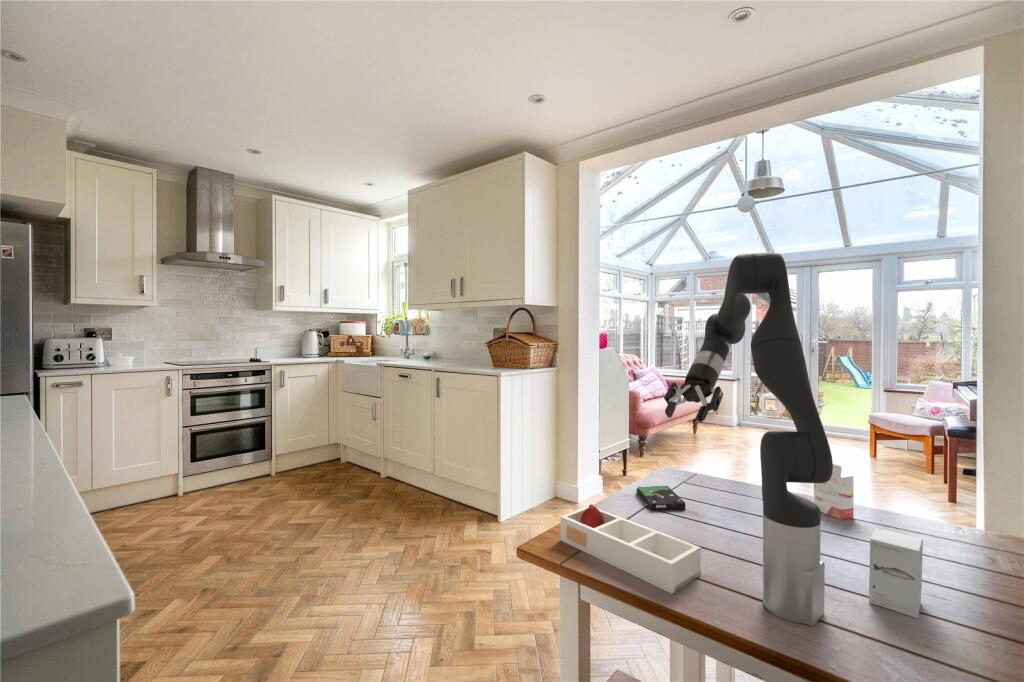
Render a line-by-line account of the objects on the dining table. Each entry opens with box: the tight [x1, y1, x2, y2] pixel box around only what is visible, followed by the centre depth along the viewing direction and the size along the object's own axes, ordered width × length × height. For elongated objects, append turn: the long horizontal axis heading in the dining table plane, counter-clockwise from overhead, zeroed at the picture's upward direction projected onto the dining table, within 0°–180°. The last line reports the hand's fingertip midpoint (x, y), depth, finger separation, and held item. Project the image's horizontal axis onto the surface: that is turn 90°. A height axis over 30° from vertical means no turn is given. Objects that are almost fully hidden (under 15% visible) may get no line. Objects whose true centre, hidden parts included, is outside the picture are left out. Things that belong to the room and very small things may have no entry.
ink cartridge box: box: [813, 463, 855, 520], centre depth 131 cm, size 9×5×15 cm, turn 17°
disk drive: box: [636, 485, 687, 512], centre depth 142 cm, size 10×3×15 cm
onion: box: [580, 503, 604, 528], centre depth 116 cm, size 6×6×8 cm
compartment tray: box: [559, 505, 702, 595], centre depth 108 cm, size 31×11×6 cm, turn 39°
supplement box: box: [868, 527, 924, 619], centre depth 88 cm, size 7×7×13 cm
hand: (682, 418), depth 120 cm, fingers open, 8 cm apart
